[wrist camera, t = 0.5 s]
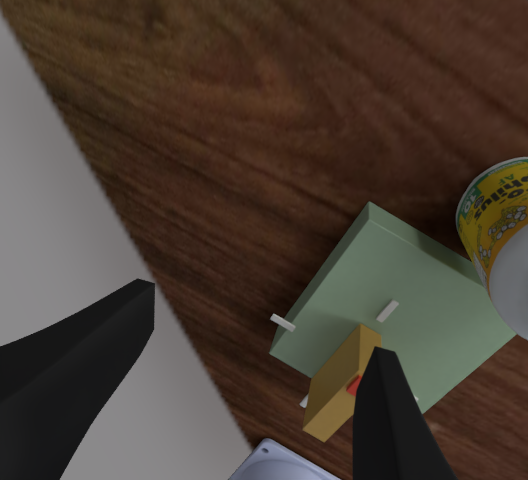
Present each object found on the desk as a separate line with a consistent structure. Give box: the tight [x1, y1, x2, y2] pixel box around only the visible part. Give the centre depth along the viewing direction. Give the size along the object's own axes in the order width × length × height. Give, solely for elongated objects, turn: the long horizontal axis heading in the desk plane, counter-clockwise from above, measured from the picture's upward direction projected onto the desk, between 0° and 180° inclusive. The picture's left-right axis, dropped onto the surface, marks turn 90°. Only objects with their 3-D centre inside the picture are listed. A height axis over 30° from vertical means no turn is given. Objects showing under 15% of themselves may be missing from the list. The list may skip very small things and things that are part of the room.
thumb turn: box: [303, 323, 382, 442], centre depth 20 cm, size 5×1×4 cm, turn 153°
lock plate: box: [269, 202, 517, 414], centre depth 22 cm, size 12×10×3 cm
